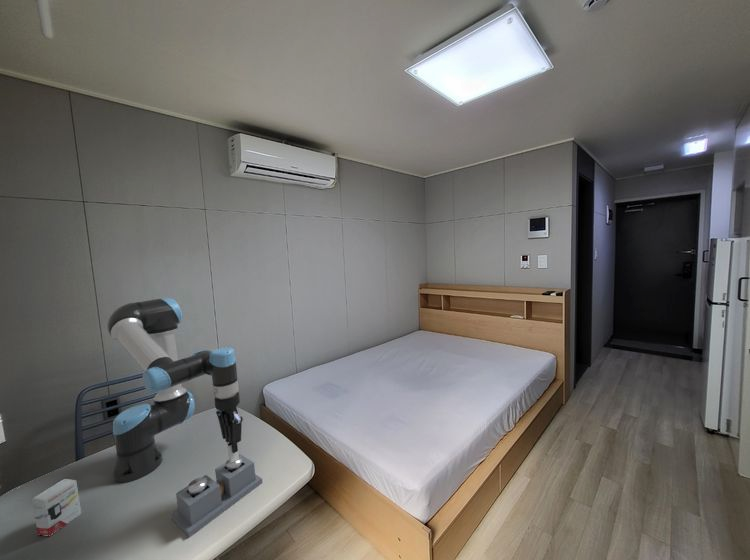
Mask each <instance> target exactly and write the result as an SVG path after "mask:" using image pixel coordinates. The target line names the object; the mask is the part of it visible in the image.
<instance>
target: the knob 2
mask: <svg viewBox="0 0 750 560" xmlns="http://www.w3.org/2000/svg"><path fill="white" fill-rule="evenodd" d="M225 463H226V467H227V470H228V471H229V472H231V473H233V472H234V471H236V470H237V469H239V468H240V467H241V466H242V464H243V463H242V457H241V456H239V459H237V460H235V461H234V462H232V463H231V462H229V458H228V459H227V460H226V461H225Z"/></svg>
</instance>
